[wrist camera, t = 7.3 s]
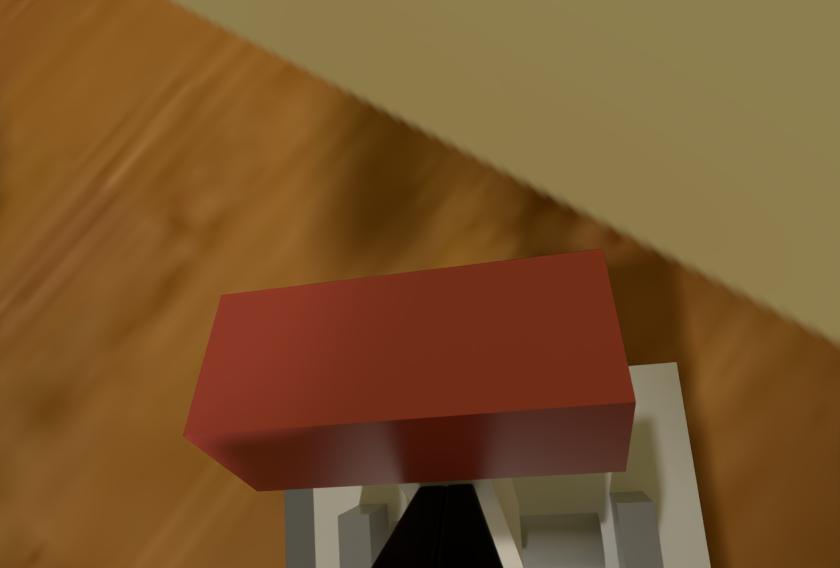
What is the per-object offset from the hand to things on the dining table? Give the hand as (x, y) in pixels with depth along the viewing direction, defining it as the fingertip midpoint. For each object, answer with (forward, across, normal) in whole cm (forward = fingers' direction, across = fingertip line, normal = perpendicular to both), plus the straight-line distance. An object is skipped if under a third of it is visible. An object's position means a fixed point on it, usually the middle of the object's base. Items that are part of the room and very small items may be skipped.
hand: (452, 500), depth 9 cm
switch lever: (+3, 0, +5) cm, 6 cm away
